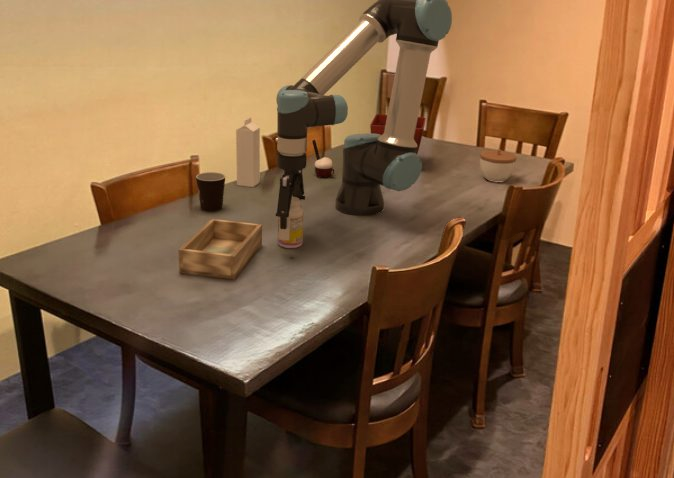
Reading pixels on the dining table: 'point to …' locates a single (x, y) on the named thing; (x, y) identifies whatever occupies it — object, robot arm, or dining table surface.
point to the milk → (248, 154)
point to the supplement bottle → (294, 226)
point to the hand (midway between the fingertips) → (290, 230)
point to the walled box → (220, 249)
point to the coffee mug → (211, 190)
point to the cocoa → (322, 164)
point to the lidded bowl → (497, 165)
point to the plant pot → (380, 122)
